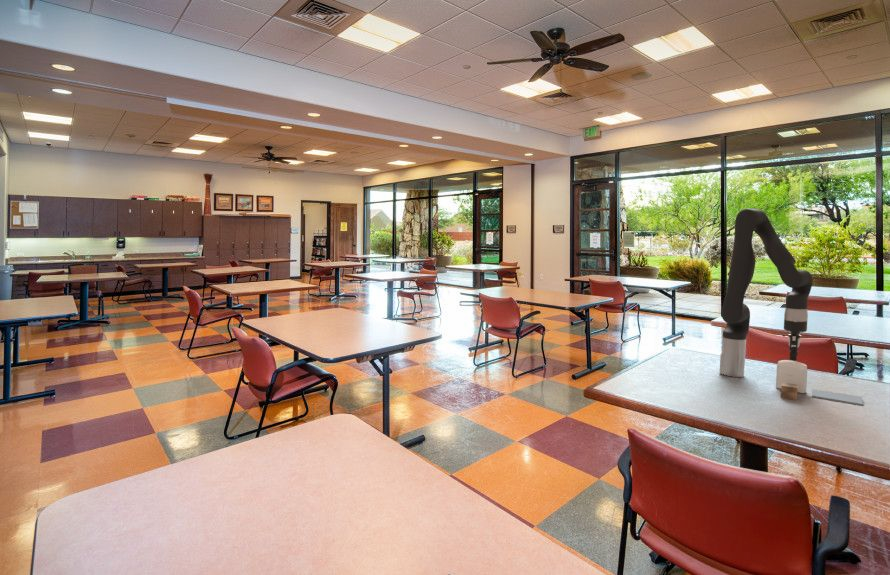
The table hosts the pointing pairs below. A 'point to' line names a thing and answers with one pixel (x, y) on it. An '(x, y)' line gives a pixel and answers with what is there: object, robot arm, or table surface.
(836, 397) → the slate mat
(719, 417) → the table surface
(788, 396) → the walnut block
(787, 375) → the photo printer
